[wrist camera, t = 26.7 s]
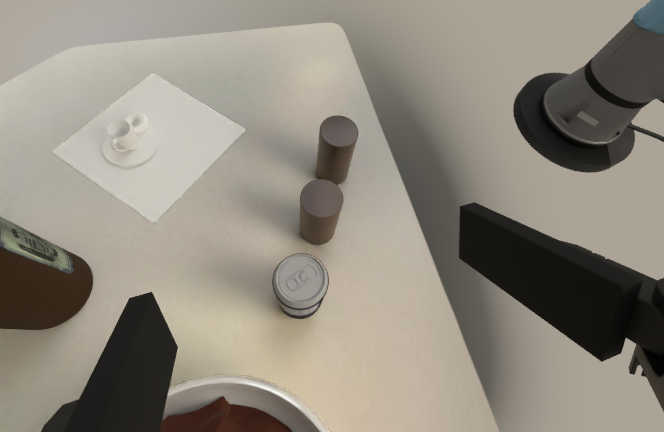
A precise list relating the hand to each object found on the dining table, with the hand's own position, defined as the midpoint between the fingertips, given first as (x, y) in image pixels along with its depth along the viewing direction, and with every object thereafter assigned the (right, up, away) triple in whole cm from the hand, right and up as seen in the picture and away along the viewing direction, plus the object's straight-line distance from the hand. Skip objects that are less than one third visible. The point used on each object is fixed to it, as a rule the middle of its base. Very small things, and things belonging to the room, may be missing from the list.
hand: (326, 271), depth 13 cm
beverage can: (-4, -8, +29) cm, 30 cm away
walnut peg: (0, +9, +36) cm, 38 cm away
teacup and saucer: (-27, +14, +36) cm, 47 cm away
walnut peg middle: (-2, +1, +32) cm, 33 cm away
